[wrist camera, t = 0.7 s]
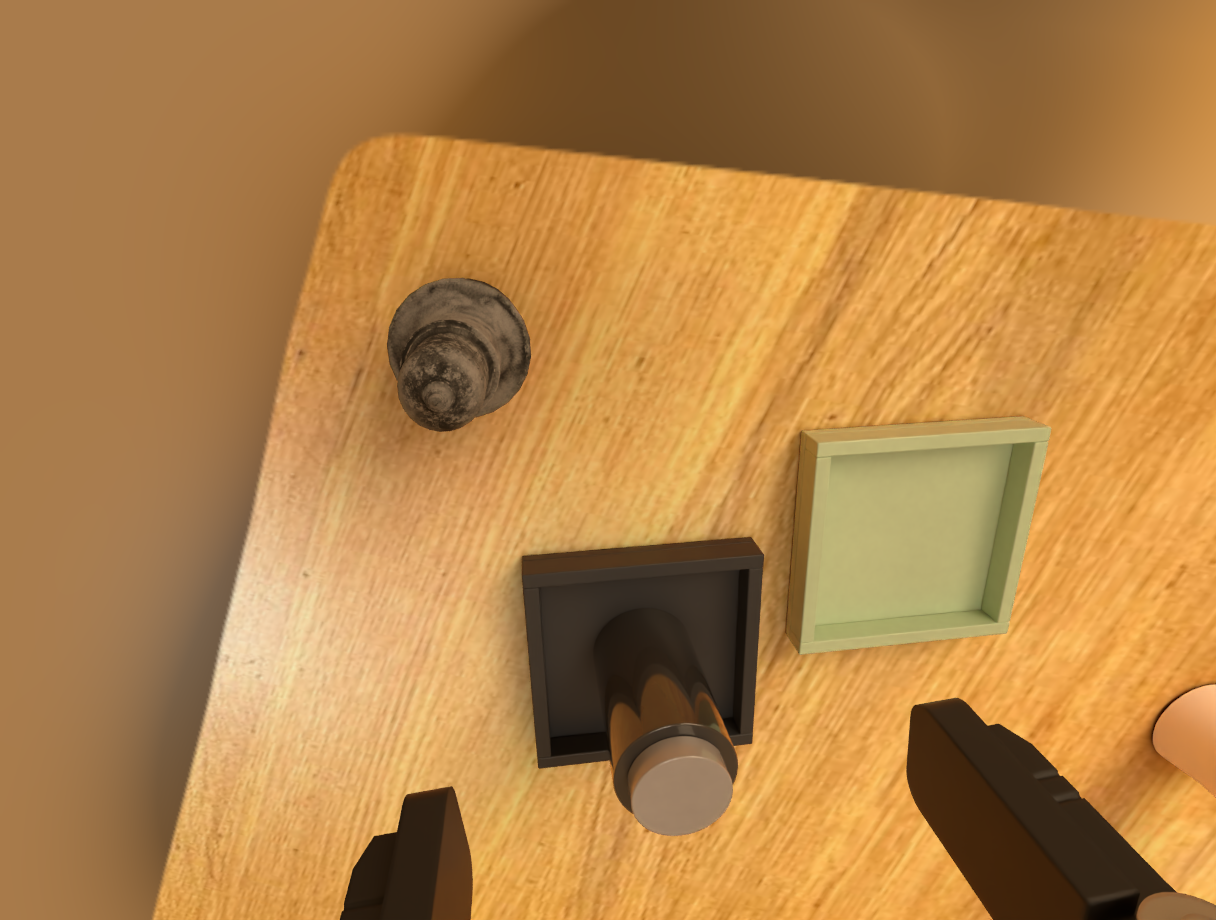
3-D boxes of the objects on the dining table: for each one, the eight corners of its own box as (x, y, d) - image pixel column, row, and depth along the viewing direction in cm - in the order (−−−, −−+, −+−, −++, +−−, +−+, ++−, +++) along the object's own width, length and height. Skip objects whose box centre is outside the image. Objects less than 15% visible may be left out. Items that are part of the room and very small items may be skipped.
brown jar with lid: (590, 612, 36) (615, 753, 26) (690, 602, 36) (750, 737, 27) (594, 695, 38) (618, 854, 28) (689, 685, 38) (744, 838, 29)
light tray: (801, 430, 34) (817, 443, 32) (1023, 415, 36) (1052, 426, 34) (785, 633, 39) (799, 655, 37) (983, 613, 40) (1007, 634, 38)
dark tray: (522, 555, 35) (521, 575, 33) (751, 536, 36) (764, 554, 34) (537, 741, 39) (538, 769, 37) (741, 719, 40) (752, 744, 38)
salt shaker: (534, 278, 30) (540, 312, 19) (526, 401, 32) (527, 499, 21) (401, 265, 29) (326, 293, 18) (401, 393, 31) (333, 490, 20)
